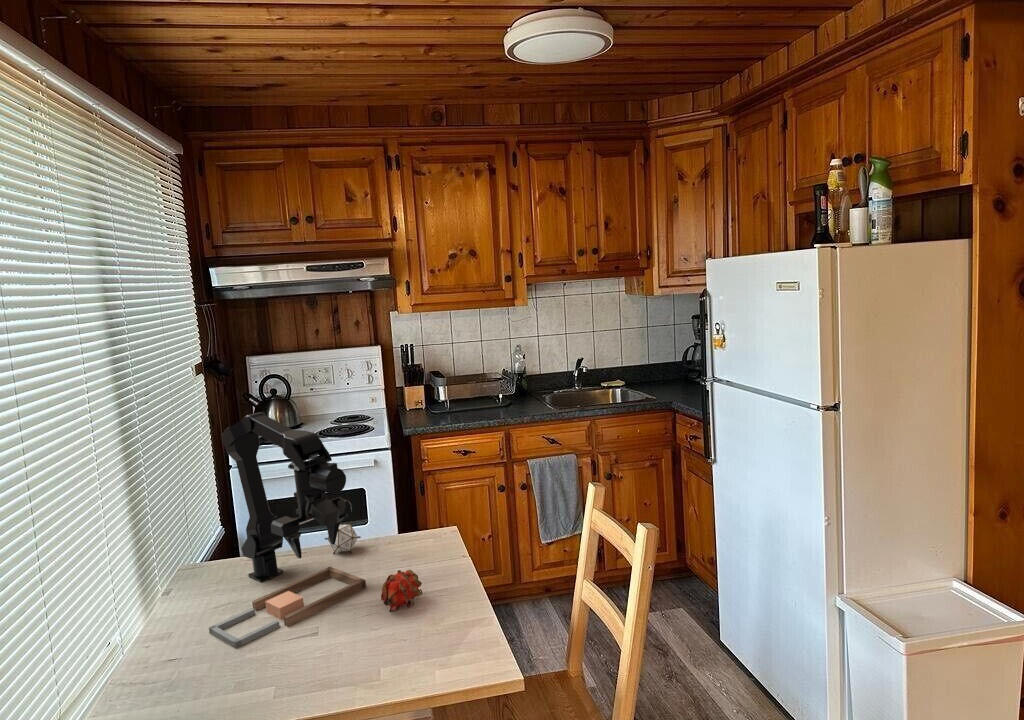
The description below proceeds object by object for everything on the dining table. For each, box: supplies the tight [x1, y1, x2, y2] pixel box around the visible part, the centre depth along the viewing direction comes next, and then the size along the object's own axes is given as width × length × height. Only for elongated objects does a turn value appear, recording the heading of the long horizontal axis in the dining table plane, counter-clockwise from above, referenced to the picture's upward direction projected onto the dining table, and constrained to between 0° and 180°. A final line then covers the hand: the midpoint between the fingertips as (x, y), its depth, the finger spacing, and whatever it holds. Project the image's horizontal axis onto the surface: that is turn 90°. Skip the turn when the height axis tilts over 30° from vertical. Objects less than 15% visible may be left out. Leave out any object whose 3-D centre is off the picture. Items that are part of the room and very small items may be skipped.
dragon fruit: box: [380, 569, 423, 613], centre depth 160 cm, size 8×8×12 cm
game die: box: [324, 521, 362, 555], centre depth 194 cm, size 9×8×10 cm
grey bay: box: [208, 607, 281, 649], centre depth 155 cm, size 11×10×1 cm
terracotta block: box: [265, 591, 305, 621], centre depth 163 cm, size 6×6×3 cm
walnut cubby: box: [251, 566, 367, 627], centre depth 168 cm, size 14×21×2 cm
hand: (316, 551), depth 169 cm, fingers open, 9 cm apart
